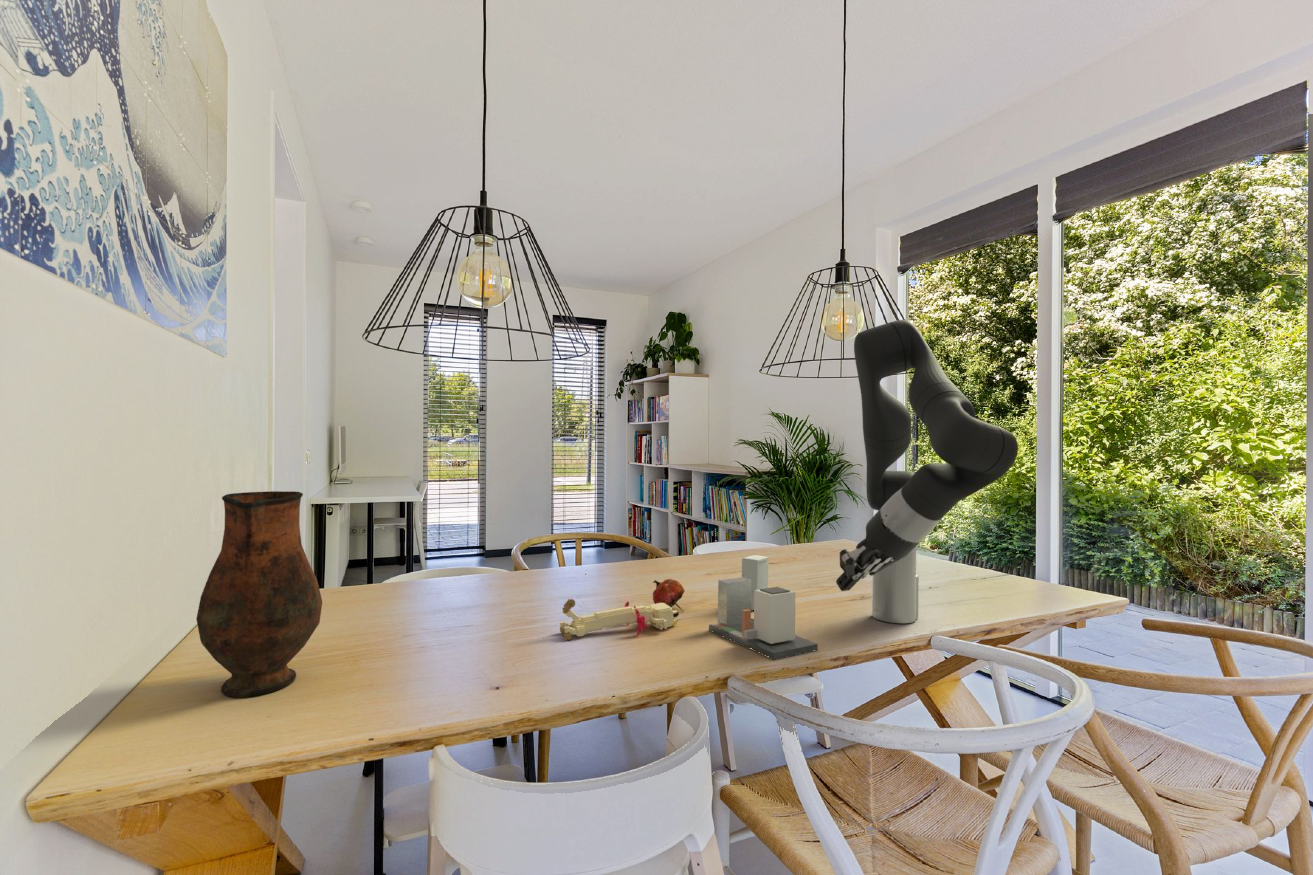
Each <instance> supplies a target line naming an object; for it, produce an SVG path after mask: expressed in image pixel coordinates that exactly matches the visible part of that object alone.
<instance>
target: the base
mask: <svg viewBox="0 0 1313 875" xmlns="http://www.w3.org/2000/svg"><path fill="white" fill-rule="evenodd" d="M717 586H718V587H717V588H718V589H717V591H718V592H717V623H711V624H708V631H709V630H710V631H709V632H711V631H713V632H714V633H713V632H712V633H713V634H715V633H717V634H718V636H720V635H721V636H720V637H722V636H724V637H725V638H724V637H723V638H724V639H726V638H728V639H731V640H732V641H731V640H730V641H731V642H733V641H735V642H737V643H739V644H742V645H744V646H746V647H748V648H752V649H753V650H755V651H757V652H760V653H762V654H763V655H762V654H761V655H762V656H764V655H766V656H769V657H770V658H772V659H771V660H773V659H775V660H777V659H776V658H779V659H783V658H782V657H784V658H787V657H786V656H789V657H792V656H791V655H793V656H797V655H796V654H798V655H800V654H799V653H803V654H806V653H805V652H808V653H811V652H810V651H812V652H814V651H813V650H817V651H819V646H818V645H819V644H818V643H816V642H814V641H811V640H809V639H806V638H803V637H801V636H798V635H796V634H795V639H794V640H788V641H783V642H778V643H773V644H770V643H768V642H765V641H763V640H761V639H758V638H756V637H752V638H745V637H743V636H742V610H747V609H749V610H751V580H750V579H746V578H743V577H742V576H741V577H734V578H726V579H718V585H717ZM751 611H752V610H751ZM751 629H754V618H752V617H751ZM717 634H716V635H717ZM728 639H727V640H728ZM735 642H734V643H735ZM737 643H736V644H737ZM739 644H738V645H739ZM742 645H741V646H742ZM744 646H743V647H744ZM746 647H745V648H746ZM748 648H747V649H748ZM753 650H752V651H753ZM755 651H754V652H755ZM757 652H756V653H757ZM766 656H765V657H766ZM770 658H769V659H770Z"/></svg>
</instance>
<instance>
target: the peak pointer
mask: <svg viewBox="0 0 1313 875" xmlns="http://www.w3.org/2000/svg"><path fill="white" fill-rule="evenodd" d="M751 618H752V610H749V609H747V610H742V636H743V637H744V631H745V630H750V629H751Z"/></svg>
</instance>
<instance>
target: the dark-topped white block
mask: <svg viewBox="0 0 1313 875" xmlns="http://www.w3.org/2000/svg"><path fill="white" fill-rule="evenodd" d="M796 596H797V595H796V591H792V590H789V589H787V588H783V587H779V586H774V587H768V588H765V589H759V590H754V611H753V619H754V629H750V630H745V631H744V637H745V638H752V637H756V638H758V639H761V640H763V641H765V642H768V643H770V644H773V643H778V642H783V641H788V640H794V639H795V635H796Z"/></svg>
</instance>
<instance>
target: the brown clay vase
mask: <svg viewBox="0 0 1313 875" xmlns="http://www.w3.org/2000/svg"><path fill="white" fill-rule="evenodd" d="M303 495H304V493H303V492H300V491H294V490H293V491H292V490H291V491H284V490H283V491H281V490H280V491H279V490H278V491H277V490H276V491H275V490H273V491H272V490H271V491H248V492H235V493H226V494H225V495H223V496H221V500H222V501H223V505H224V506H223V507H224V530H223V536H222V542H221V548H220V552H219V554H218V556H217V558H216V559H215V561H214V564H213V566H212V569H210V570H211V571H210V572H209V575H208V576H207V579H206V582H205V585H204V588H203V590H202V591H201V595H200V599H199V604H198V610H197V612H196V623H197V629H198V635H199V641H200V643H201V645H202V646H203V647H204V648H205V650H207V652H208V653H209V654H210V656H211V657H212V658H213V659H214V660H215V661H216V663H218V664H220V666H221V667H223V668H224V669H225V670H226V671H227V672H228V673H230V674H231V676H230V677H229V678H228V679H226V680H225V681H224V682H223V683H222V685H221V686H220V692H221V693H222V694H223V695H224V696H226V697H228V698H234V699H235V698H237V699H238V698H249V697H250V698H251V697H257V696H261V695H265V694H271V693H274V692H276V691H277V692H278V691H279V690H281V689H284V688H286V687H288V686H290V685H292V684H293V683H294V681H295V680H296V678H297V672H296V670H294V669H293V668H289V667H288V664H289V663H290V662H291V660H293V659H294V658H295V657H296V655H297V654H298V653H299V652H300V651H301V650H302V649H303V648H304V647H305V646H306V645H307V643H308V642H309V640H310V638H311V636H312V635H313V634H314V633H315V631H316V629H317V628H318V627H319V625H320V622H321V615H322V607H323V599H322V595H321V590H320V585H319V582H318V579H317V576H316V574H315V572H314V570H313V568H312V566H311V563H310V562H309V560H308V557H307V555H306V553H305V552H306V551H305V550H304V548H303V544H302V536H301V535H302V534H301V529H300V528H301V527H300V519H301V518H300V515H301V513H300V510H301V509H300V508H301V501H302V497H304V496H303Z"/></svg>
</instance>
